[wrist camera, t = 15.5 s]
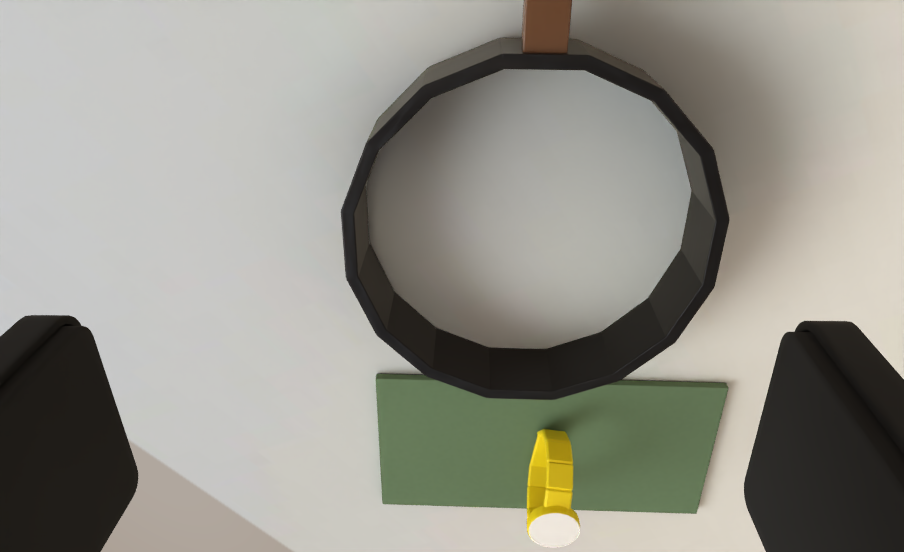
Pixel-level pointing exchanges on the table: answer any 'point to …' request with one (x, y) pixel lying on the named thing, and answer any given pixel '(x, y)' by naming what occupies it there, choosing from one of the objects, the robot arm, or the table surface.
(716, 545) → the table surface
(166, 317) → the table surface
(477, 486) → the mat
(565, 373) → the pan
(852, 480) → the robot arm
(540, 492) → the watch
